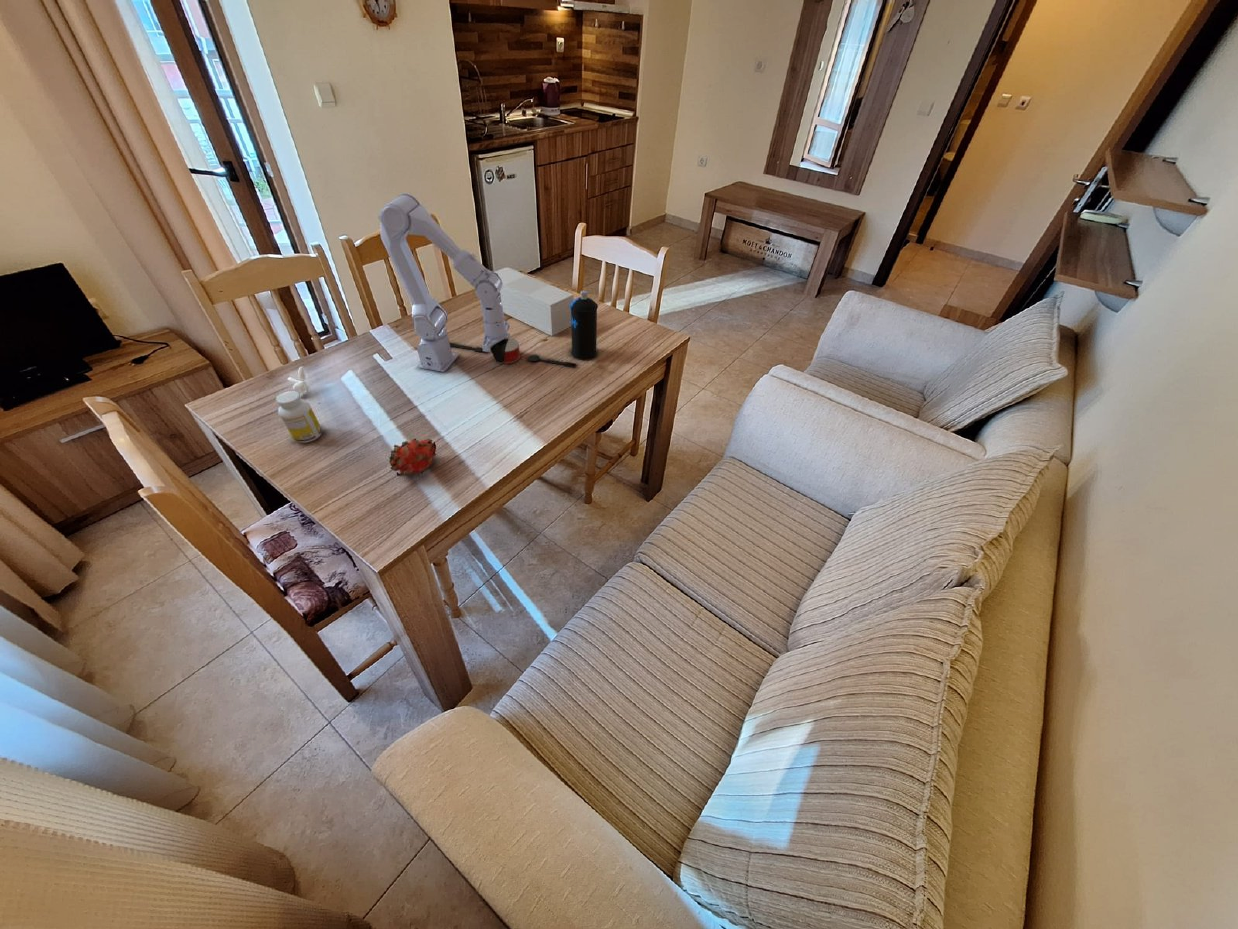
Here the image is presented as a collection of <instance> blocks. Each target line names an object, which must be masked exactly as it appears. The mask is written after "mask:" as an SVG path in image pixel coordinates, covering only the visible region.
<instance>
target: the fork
mask: <svg viewBox="0 0 1238 929" xmlns="http://www.w3.org/2000/svg"><path fill="white" fill-rule="evenodd" d="M449 343H450V347H451V348H455V349H456V348H457V349H462V350H468V351H470V350H472V351H474V352H475V353H484V354H489V352H485V351H483V349H482V347H479V346H477V347H473V346H468V345H464V344H458V343H457V344H456V343H454V342H449Z"/></svg>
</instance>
